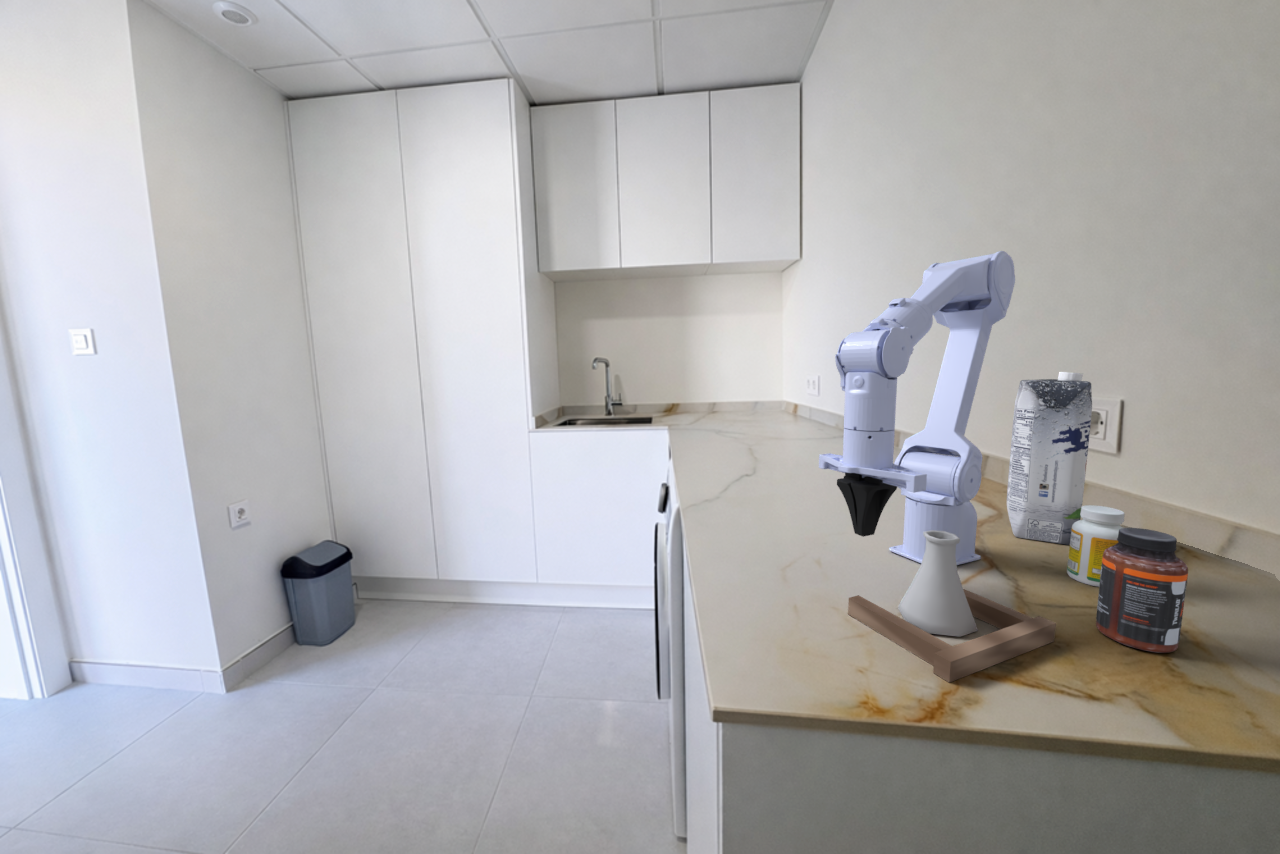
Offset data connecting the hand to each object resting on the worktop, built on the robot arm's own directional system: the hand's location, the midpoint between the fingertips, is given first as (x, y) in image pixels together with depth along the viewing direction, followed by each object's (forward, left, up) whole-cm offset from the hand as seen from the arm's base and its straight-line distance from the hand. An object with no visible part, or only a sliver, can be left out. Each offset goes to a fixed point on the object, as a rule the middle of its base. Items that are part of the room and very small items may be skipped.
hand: (864, 533), depth 60 cm
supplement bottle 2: (-16, +20, -7) cm, 27 cm away
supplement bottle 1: (-29, +11, -7) cm, 32 cm away
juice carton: (-42, -2, -7) cm, 43 cm away
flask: (-1, +9, -7) cm, 12 cm away
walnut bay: (0, +10, -7) cm, 12 cm away
